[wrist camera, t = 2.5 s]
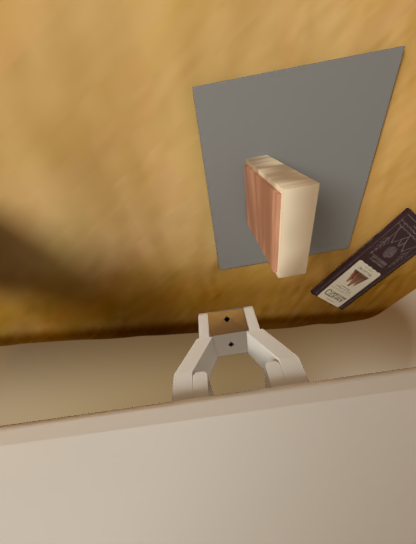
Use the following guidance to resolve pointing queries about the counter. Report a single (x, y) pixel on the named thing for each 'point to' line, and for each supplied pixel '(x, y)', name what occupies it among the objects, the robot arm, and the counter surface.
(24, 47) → the counter surface
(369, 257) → the chocolate bar
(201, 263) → the counter surface
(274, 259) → the wooden block
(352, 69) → the mat
